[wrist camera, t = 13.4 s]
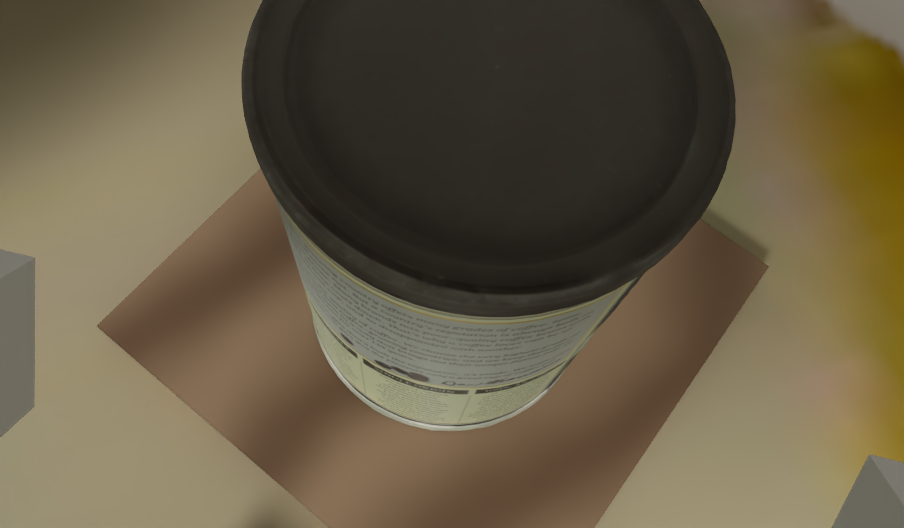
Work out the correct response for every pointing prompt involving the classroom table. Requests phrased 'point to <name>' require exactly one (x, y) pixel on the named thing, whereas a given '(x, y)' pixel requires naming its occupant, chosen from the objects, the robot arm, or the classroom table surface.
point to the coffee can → (480, 180)
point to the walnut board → (400, 445)
